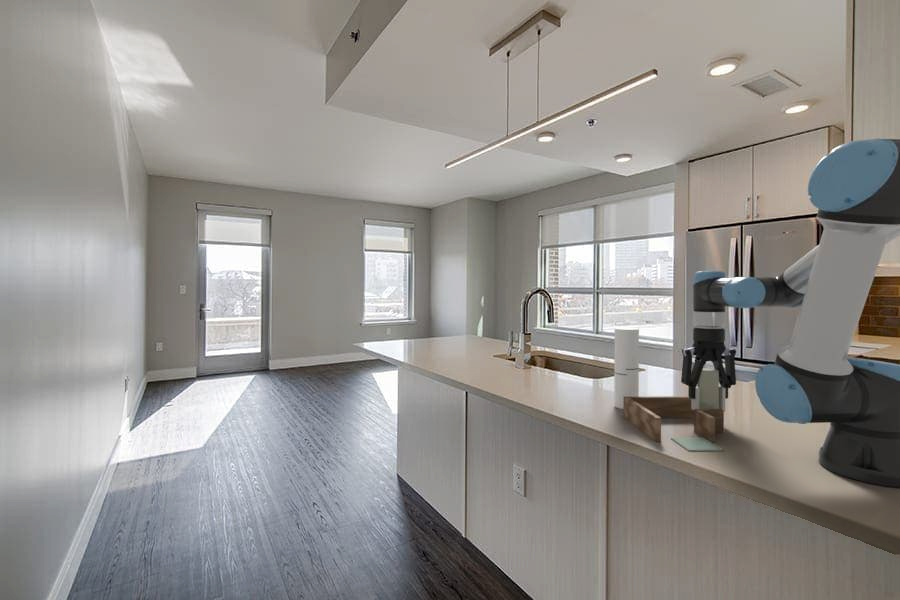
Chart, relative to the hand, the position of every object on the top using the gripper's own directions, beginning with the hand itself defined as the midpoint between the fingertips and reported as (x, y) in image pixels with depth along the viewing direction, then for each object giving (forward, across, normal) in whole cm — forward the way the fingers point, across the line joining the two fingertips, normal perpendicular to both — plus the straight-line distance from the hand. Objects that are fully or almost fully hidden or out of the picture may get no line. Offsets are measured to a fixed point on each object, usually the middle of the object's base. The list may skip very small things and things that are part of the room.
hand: (708, 410), depth 117 cm
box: (+2, 0, 0) cm, 2 cm away
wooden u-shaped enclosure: (+4, +10, +3) cm, 11 cm away
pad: (+4, +12, +15) cm, 20 cm away
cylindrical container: (+4, +16, -18) cm, 24 cm away
